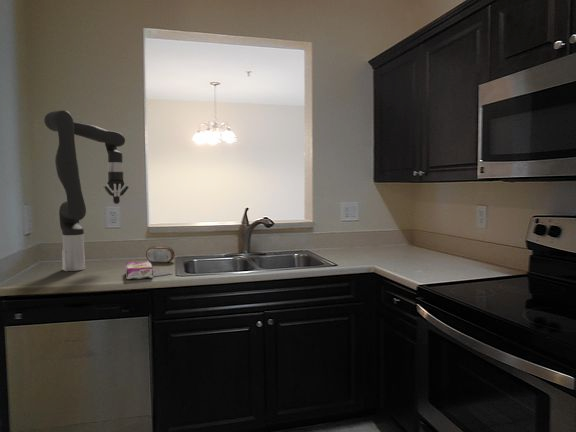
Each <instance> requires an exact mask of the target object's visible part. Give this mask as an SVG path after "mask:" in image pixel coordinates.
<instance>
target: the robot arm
mask: <svg viewBox="0 0 576 432" xmlns="http://www.w3.org/2000/svg"><path fill="white" fill-rule="evenodd" d="M43 121H44V124H45V126H46V127H47V129H49V130H51V131H52V132H57V135H58V146H57V150H56V154H55V159H54V160H55V168H56V173H57V178H58V180H59V181H60V183H61V185H62V186H63V189H64V191H65V194H66V201H63V203H62V204H61V205H60V206H59V210H58V211H59V213H58V215H59V227H60V230H61V233H62V234H61V235H62V250H61V260H62V262H61V263H62V265H61V266H62V270H63V271H65V272H77V271H82V270H85V269H86V260H85V258H86V256H85V254H86V252H85V231H84V227H83V226H82V225H81V223H80V221H81V220H83V219H84V218H85V216H86V214H87V208H86V207H87V206H86V203H85V199H84V196H83V191H82V187H81V186H82V185H81V177H80V172H79V164H78V163H79V162H78V158H77V157H78V156H77V150H76V144H75V136H79V137H81V138H85V139H89V140H92V141H96V142H99V143H103V144H104V146H105V148H106V149H105V150H106V153H107V158H108V159H107V160H108V161H107V162H108V163H107V177H108V178H107V180H108V181H107V184H106V185H103V189H104V190H105V192H106V193H107V194H108V195H109V196H111V197H112V198H113V199H112V201H113V203H114V204H115V205H117V204H119V203H120V201H121V200H120V197H122V196H124V195H125V193H126V192H127V190H128V189H129V186H128V185H126V184H125V182H124V165H123V153H122V152H121V151H118V148H119V147H122V146H124V144H125V143H126V138H125V136H124V135H123V134H122V133H120V132H118V131H113V130H107V129H104V128H102V127H99V126H96V125H93V124H87V123H81V122H76V121H74V118H73V116H72V115H71V113H70V112H69V111H68V110H65V109H64V110H53V111H50V112H48V113H47V114H46V115H45V116H44V120H43Z"/></svg>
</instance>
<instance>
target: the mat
mask: <svg viewBox="0 0 576 432" xmlns="http://www.w3.org/2000/svg"><path fill="white" fill-rule="evenodd" d="M169 275H171V276H172V275H173V273H172V272H170V271H167V270H163V269H161V270H156V271H154V270H153V278H156V277H162V276H163V277H164V276H169ZM141 279H142V280H143V279H144V278H138V279H134V280H141Z"/></svg>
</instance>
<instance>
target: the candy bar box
mask: <svg viewBox="0 0 576 432" xmlns="http://www.w3.org/2000/svg"><path fill="white" fill-rule="evenodd" d="M153 272H154V267H153V264H152V262H150V261H149V260H147V261H145V260H143V261H142V260H141V261H128V262H127V261H126V262H125V276H126V280H132V279H133V280H135V279H137V280H139V279H138V278H143V279H148V278H149V279H152V278H154V277H153Z"/></svg>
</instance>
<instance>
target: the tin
mask: <svg viewBox="0 0 576 432" xmlns="http://www.w3.org/2000/svg"><path fill="white" fill-rule="evenodd" d="M145 258H146V259H147V261H150V262H151V263H159V264H160V263H161V264H164V263H165V264H167V263H169V262H172V261H173V260H174V258H175V250H174V249H173V248H171V247H169V246H156V245H155V246H151V247H149V248H148V249H147V250H146V252H145Z"/></svg>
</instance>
